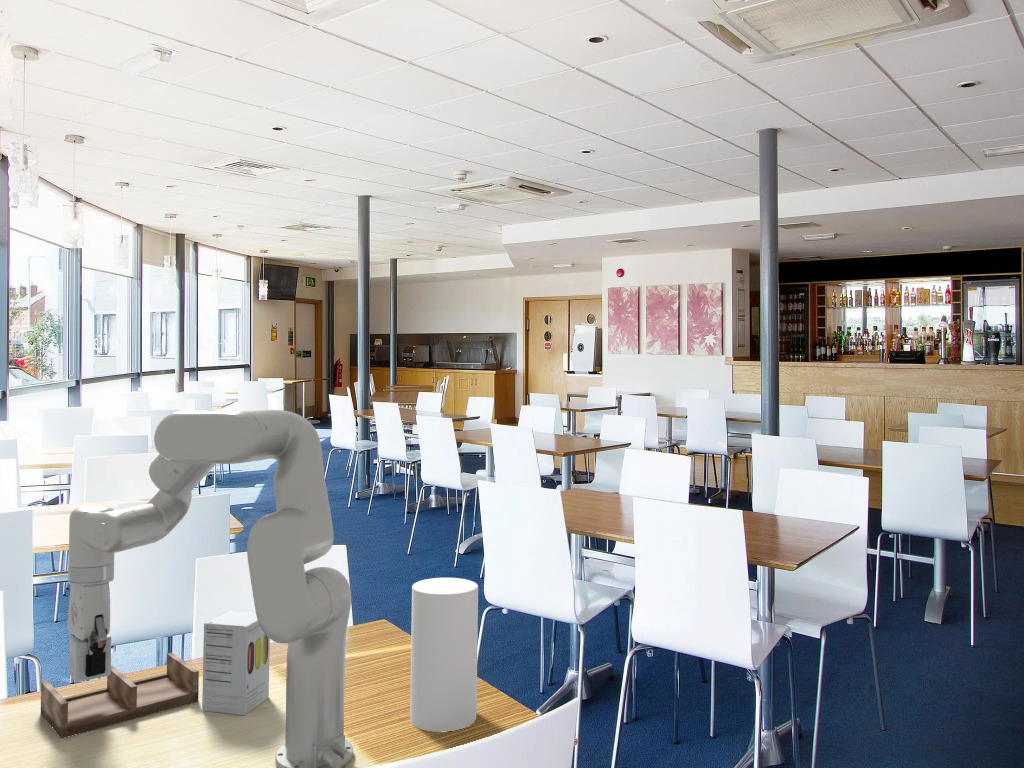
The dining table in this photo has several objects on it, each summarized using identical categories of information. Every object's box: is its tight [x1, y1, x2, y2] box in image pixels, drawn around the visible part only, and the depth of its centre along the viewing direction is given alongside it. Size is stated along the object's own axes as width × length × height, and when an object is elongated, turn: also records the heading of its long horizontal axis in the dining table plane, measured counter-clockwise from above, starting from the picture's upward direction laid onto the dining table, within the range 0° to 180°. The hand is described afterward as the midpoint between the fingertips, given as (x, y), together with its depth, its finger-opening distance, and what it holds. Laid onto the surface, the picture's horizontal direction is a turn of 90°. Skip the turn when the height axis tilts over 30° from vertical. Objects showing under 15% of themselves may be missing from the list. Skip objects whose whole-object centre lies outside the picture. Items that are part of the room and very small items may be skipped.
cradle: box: [40, 652, 200, 739], centre depth 149 cm, size 14×24×6 cm, turn 134°
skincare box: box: [68, 633, 112, 683], centre depth 145 cm, size 6×6×7 cm
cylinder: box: [409, 577, 479, 733], centre depth 146 cm, size 12×12×25 cm
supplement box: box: [201, 610, 271, 716], centre depth 151 cm, size 10×9×17 cm
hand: (89, 668), depth 145 cm, fingers closed on skincare box, 6 cm apart
